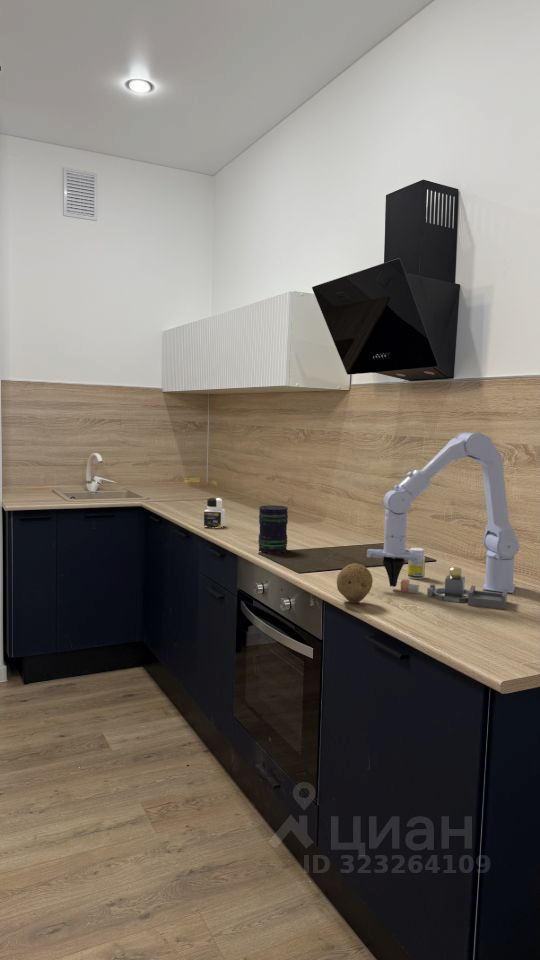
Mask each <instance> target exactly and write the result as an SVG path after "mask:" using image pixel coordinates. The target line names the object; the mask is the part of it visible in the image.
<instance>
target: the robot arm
mask: <svg viewBox="0 0 540 960" xmlns="http://www.w3.org/2000/svg"><path fill="white" fill-rule="evenodd" d="M467 458H471V459H472V460H473V461H475V462H477V463H478V464H480V466H481V469H482V476H483V477H482V480H483V488H484V496H485V497H484V498H485V507H486V515H487V523H486V524H485V526H484V527H485V529H484V531H485V533H484V536H483V540H482V541H483V542H482V543H483V547H484V548H485V549H486V557H485V558H486V561H485V577H484V584H483V585H482V588H481V589H482V591H489V592H498V593H503V589H507V594H508V593H510V594H514V593H515V590H516V589H515V588H516V584H515V583H514V573H515V572H514V571H515V556H516V555H517V554H518V553H519V550H520V542H519V540H518V537H517V536H516V532H515V529H514V527H513V525H512V524H511V522H510V520H509V512H508V503H507V492H506V484H505V472H504V466H503V465H504V464H503V457H502V454H501V453H500V452H499V450H498V448H497V447H496V446H495V445H494V444H493V441H492V438H490V437H489V436H488V435H486V434H484V433H481V432H469V431H462V432H459V433H458V434H457V435H455V437H454V438H452V439H450V440H449V441H448V442H447V444H446V445H445V446H444V447H443V448H442V449H441V450H440V451H439V452H438V453H437V454H436V455H435V456H434V457H433V458H432V459H431V460H430V461H429V462H428V463H427V464H426V465H425V466H424V467H423V468H422V469H421V470H419V469H415V470H413V471H409V472H407V473H406V477H405V478H404V479H403V480H402V481H400V483H399V484H395V485H394V486H393V489H391V490H388V491H387V492H386V493H385V495H384V497H383V499H382V506H383V507H384V511H385V512H384V528H383V530H384V531H383V533H384V534H383V537H384V538H383V549H376V548H368V549H367V550H366V557H367V558H378V559H382V564H383V567H384V568H385V571H386V574H387V577H388V580H389V587H392V588H393V587H394V588H395V587H397V585H398V584H397V583H398V579H399V576H400V574H401V571H402V568H403V567H404V565H405V563H406V561H408V560H409V561H417V562H422V554H419V553H413V552H410V551H407V550H406V547H407V544H406V543H407V541H406V540H407V520H408V519H407V514H408V513H407V511H409V510H410V508H411V505H412V502H414V501H415V500H416V499H417V498H418V497H420V495H422V493H423V492H425V490H427V489H428V488H429V487H430V486H431V479H433V477H435V476H436V475H437V474H438V473H439V472H440V471H442V470H443V469H444V468H445V467H447V466H448V465H449V464H450V463H452V461H454V460H460V459H461V460H462V459H467Z"/></svg>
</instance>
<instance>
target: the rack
mask: <svg viewBox="0 0 540 960" xmlns="http://www.w3.org/2000/svg"><path fill="white" fill-rule="evenodd" d="M467 597H468V602H467V606H472V607H482V608H488V609H489V608H490V609H498V610H505V609H506V606H507V602H508V592H507V589H503V592H496V591H487V590H476V585H471V586H470V589H469V592H468V595H467Z"/></svg>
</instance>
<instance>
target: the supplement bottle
mask: <svg viewBox="0 0 540 960" xmlns="http://www.w3.org/2000/svg"><path fill="white" fill-rule="evenodd" d="M409 552H413V553H419V554H422V562H417V561H409V560H407V562H408V563H407V578H408V579H412V580H423V579H425V572H426V571H425V569H426V563H425V562H426V556H425V550H424V548H422V547H421V548H420V547H410V548H409Z"/></svg>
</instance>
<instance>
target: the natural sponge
mask: <svg viewBox="0 0 540 960" xmlns="http://www.w3.org/2000/svg"><path fill="white" fill-rule="evenodd" d="M373 581H374V579H373V576H372V573H371V572H370V570H369V569H368V568H367V567H366V566H364V565H362V564H360V563H349V564H348V565H346V566H345V567H343V568H342V569H340V571H339V573H338V575H337V579H336V588H337V591H338V592H339V593H340V594H341V595H342V596H343V598H345V600H347V601H348V602H350V603H352V604H357V603H359V602H361V601H363V599H365V598H366V596H367V595H368V594H369V593H370V590H372V587H373Z"/></svg>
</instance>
